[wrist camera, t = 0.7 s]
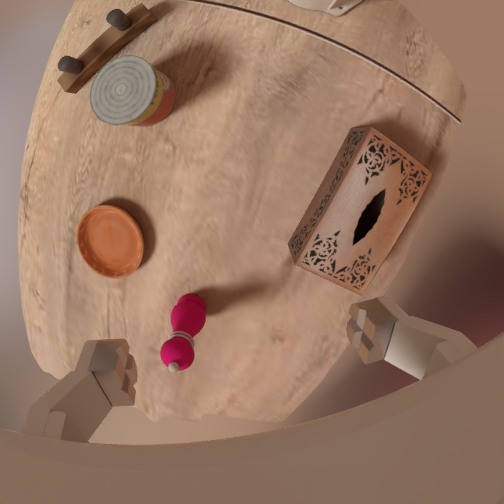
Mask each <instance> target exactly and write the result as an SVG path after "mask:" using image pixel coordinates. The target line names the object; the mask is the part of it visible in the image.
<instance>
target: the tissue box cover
mask: <svg viewBox="0 0 504 504" xmlns="http://www.w3.org/2000/svg"><path fill="white" fill-rule="evenodd" d="M432 176H433V174H432V173H431V172H430V171H429V170H428V169H426V168H425V167H424V166H423V165H422V164H420V163H419V162H418V161H417V160H416V159H414V158H413V157H412V156H411V155H409V154H408V153H407V152H405V151H404V150H403V149H402V148H400V147H399V146H398V145H396V144H395V143H394V142H392V141H391V140H390V139H388V138H387V137H385V136H384V135H383V134H381V133H380V132H378V131H377V130H376V129H374V128H373V127H359V128H351V129H350V131H349V133H348V135H347V137H346V139H345V141H344V143H343V144H342V146H341V148H340V150H339V152H338V154H337V156H336V157H335V159H334V161H333V163H332V165H331V167H330V169H329V170H328V172H327V174H326V176H325V178H324V180H323V181H322V183H321V185H320V187H319V189H318V191H317V192H316V194H315V196H314V198H313V200H312V201H311V203H310V205H309V207H308V209H307V210H306V212H305V214H304V216H303V218H302V219H301V221H300V223H299V225H298V226H297V228H296V230H295V232H294V234H293V235H292V237H291V239H290V241H289V242H288V246H289V249H290V252H291V255H292V258H293V261H294V264H295V265H297V266H299V267H301V268H303V269H305V270H308V271H310V272H312V273H314V274H316V275H318V276H320V277H323V278H325V279H327V280H329V281H331V282H333V283H335V284H337V285H340V286H342V287H344V288H346V289H348V290H350V291H352V292H354V293H357V294H359V295H362V294H363V292H364V291H365V289H366V288H367V286H368V285H369V284H370V282H371V281H372V279H373V278H374V276H375V275H376V273H377V272H378V270H379V268H380V267H381V265H382V264H383V262H384V261H385V259H386V258H387V256H388V254H389V253H390V251H391V250H392V248H393V246H394V245H395V243H396V241H397V240H398V238H399V236H400V235H401V233H402V231H403V230H404V228H405V226H406V224H407V223H408V221H409V219H410V217H411V216H412V214H413V212H414V210H415V208H416V207H417V205H418V203H419V201H420V199H421V197H422V195H423V194H424V192H425V190H426V188H427V186H428V184H429V182H430V180H431V178H432Z"/></svg>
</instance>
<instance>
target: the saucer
mask: <svg viewBox="0 0 504 504" xmlns="http://www.w3.org/2000/svg"><path fill="white" fill-rule="evenodd" d="M76 237H77V245H78V249H79V252H80V254H81V256H82V258H83V260H84V261H85V263H86V264H87V265H88V266H89V267H90V268H91V269H92V270H93V271H95V272H96V273H98V274H99V275H101V276H104V277H107V278H112V279H119V278H124V277H127V276H129V275H131V274H132V273H133V272H134V271H135V270H136V269H137V268H138V266H139V265H140V263H141V260H142V258H143V254H144V240H143V235H142V232H141V230H140V228H139V226H138V224H137V223H136V221H135V220H134V219H133V218H132V217H131V215H129V214H128V213H127V212H126V211H124V210H123V209H121V208H119V207H116V206H113V205H99V206H95V207H93V208H91V209H90V210H88V211H87V212H86V213H85V214H84V215H83V216H82V218H81V219H80V221H79V224H78V227H77V235H76Z"/></svg>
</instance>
